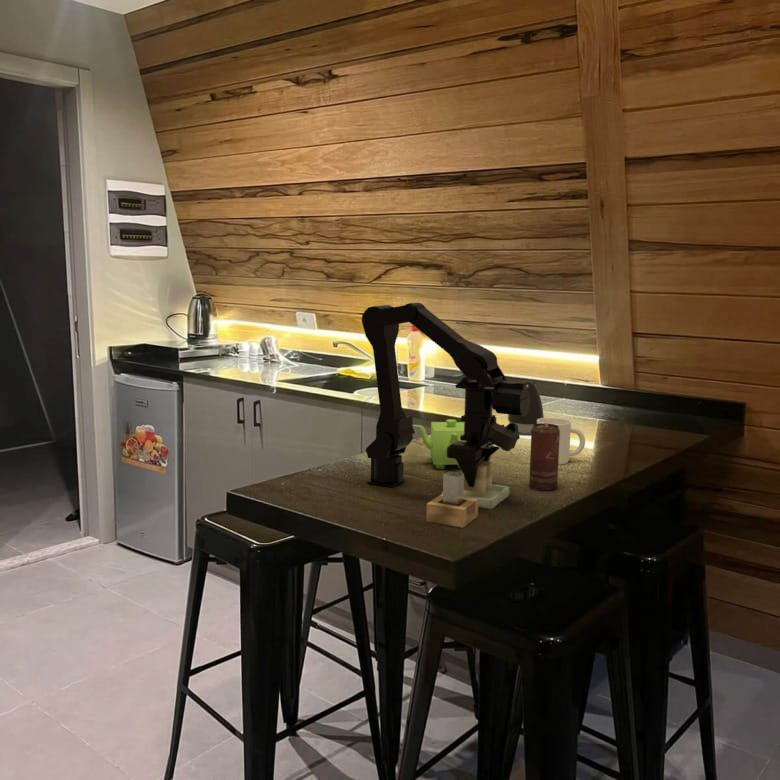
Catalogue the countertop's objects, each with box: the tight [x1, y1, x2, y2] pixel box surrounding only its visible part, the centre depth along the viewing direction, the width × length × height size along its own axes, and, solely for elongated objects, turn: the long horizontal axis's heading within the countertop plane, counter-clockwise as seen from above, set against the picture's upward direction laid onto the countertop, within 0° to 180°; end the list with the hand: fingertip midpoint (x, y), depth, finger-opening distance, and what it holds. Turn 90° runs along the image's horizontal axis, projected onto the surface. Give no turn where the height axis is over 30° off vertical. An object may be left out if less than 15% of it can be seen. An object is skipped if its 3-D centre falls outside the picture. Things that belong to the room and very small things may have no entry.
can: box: [529, 423, 560, 492], centre depth 176 cm, size 6×6×14 cm
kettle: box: [413, 418, 466, 470], centre depth 194 cm, size 15×14×11 cm
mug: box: [537, 417, 586, 466], centre depth 198 cm, size 12×8×10 cm
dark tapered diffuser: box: [507, 380, 545, 435], centre depth 231 cm, size 10×10×15 cm
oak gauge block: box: [425, 493, 479, 529], centre depth 154 cm, size 8×8×4 cm
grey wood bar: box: [442, 470, 464, 506], centre depth 154 cm, size 3×3×9 cm
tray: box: [441, 483, 511, 510], centre depth 168 cm, size 11×11×2 cm
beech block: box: [460, 461, 494, 493], centre depth 167 cm, size 5×5×6 cm
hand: (476, 483), depth 168 cm, fingers closed on beech block, 5 cm apart
